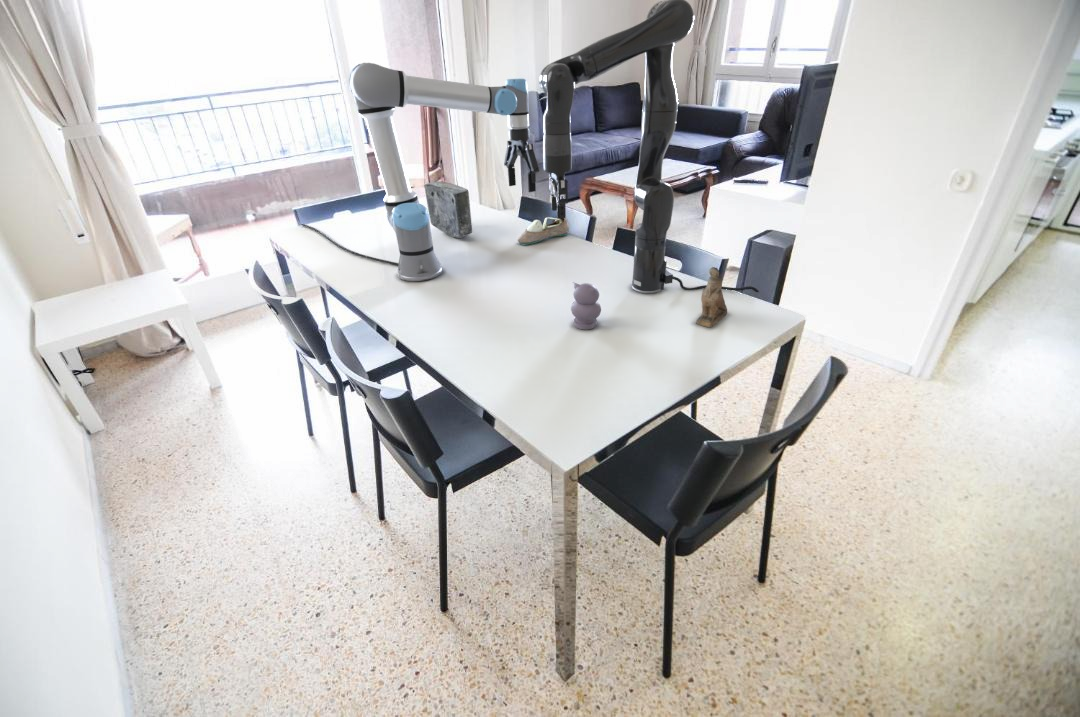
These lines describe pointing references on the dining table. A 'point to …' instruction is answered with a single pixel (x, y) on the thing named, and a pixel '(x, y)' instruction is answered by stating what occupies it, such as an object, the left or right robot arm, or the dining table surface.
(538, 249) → the dining table surface
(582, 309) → the cat figurine
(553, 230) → the speckled felt slipper
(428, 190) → the concrete block
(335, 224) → the dining table surface
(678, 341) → the dining table surface
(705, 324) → the worn brown figurine
